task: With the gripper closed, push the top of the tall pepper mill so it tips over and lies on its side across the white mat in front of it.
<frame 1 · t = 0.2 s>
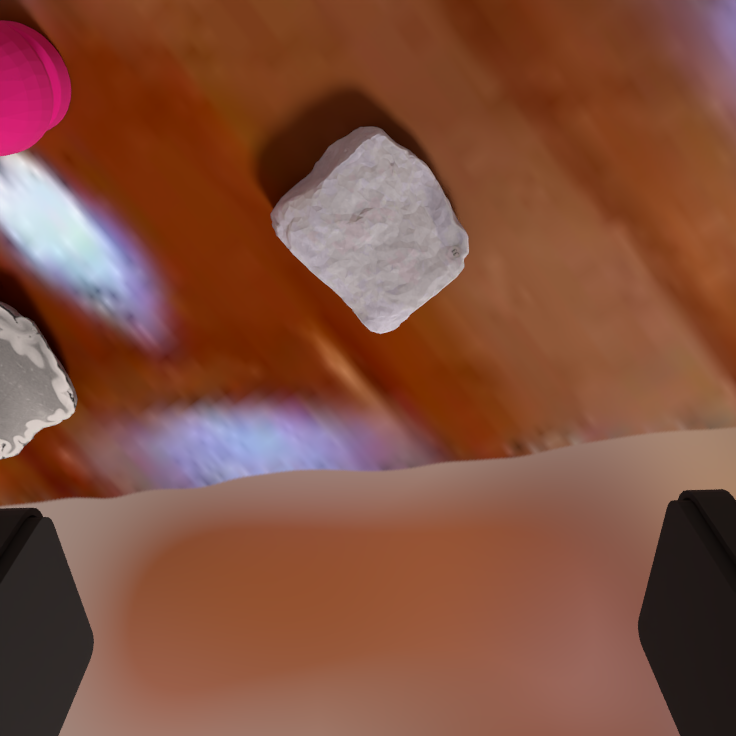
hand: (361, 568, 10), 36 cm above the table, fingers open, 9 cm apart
stone block: (379, 220, 44), on the table
pepper mill: (21, 78, 40), on the table
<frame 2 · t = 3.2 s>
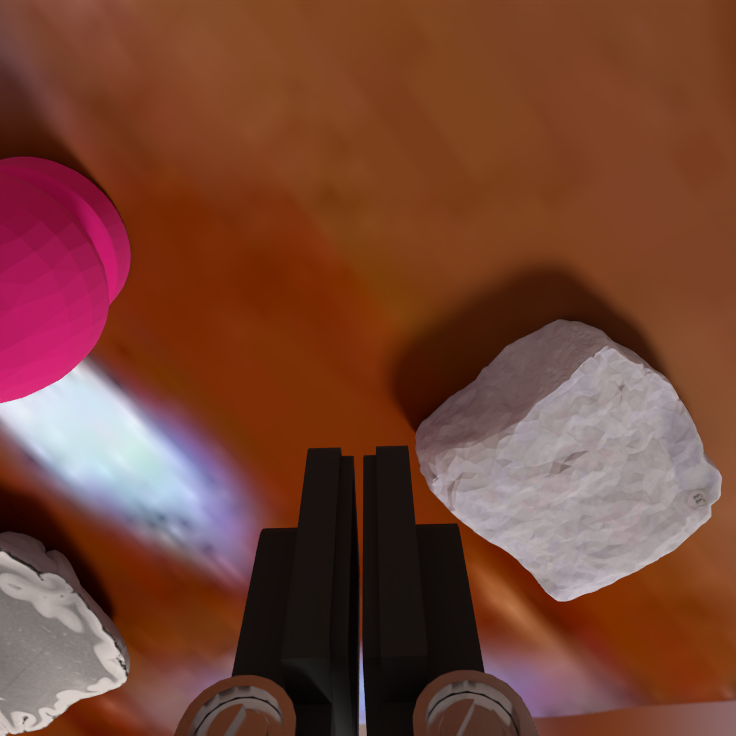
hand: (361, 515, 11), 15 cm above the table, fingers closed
stone block: (567, 436, 30), on the table
pepper mill: (50, 239, 25), on the table
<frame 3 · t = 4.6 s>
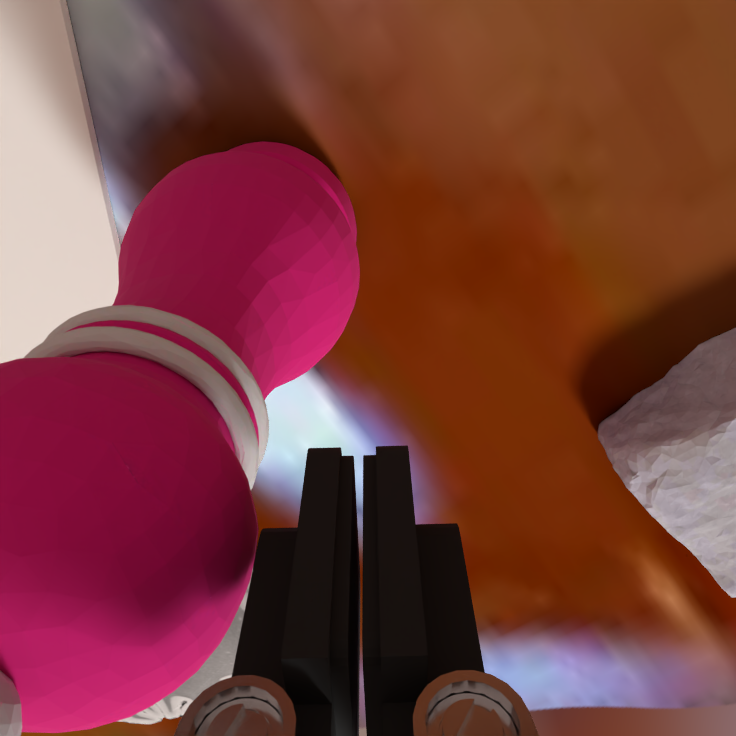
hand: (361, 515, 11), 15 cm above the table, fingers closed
brain slice: (102, 574, 34), on the table
pepper mill: (274, 225, 24), on the table
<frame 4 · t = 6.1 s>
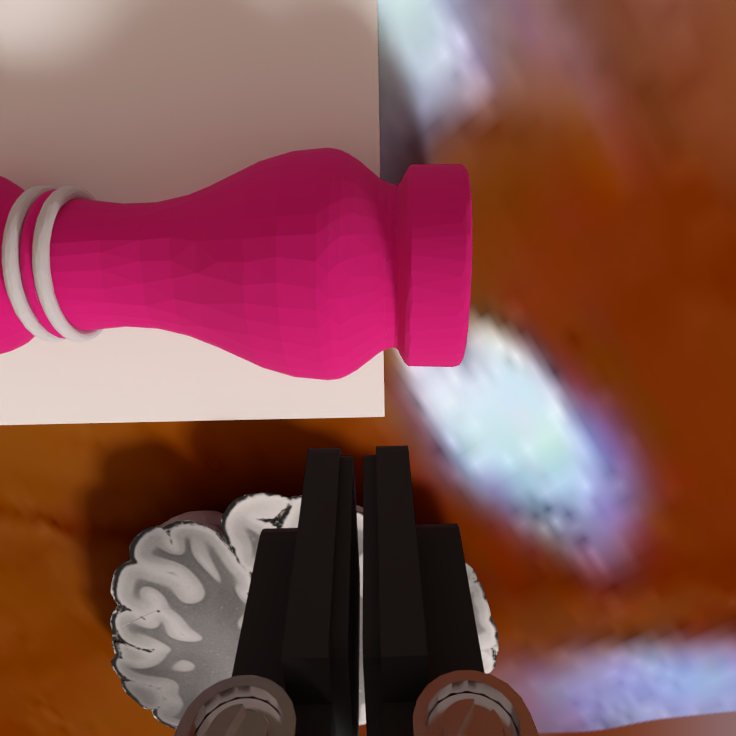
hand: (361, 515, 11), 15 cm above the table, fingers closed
brain slice: (292, 581, 34), on the table
pepper mill: (468, 267, 20), point 4 cm above the table, touching white mat
white mat: (116, 238, 24), on the table
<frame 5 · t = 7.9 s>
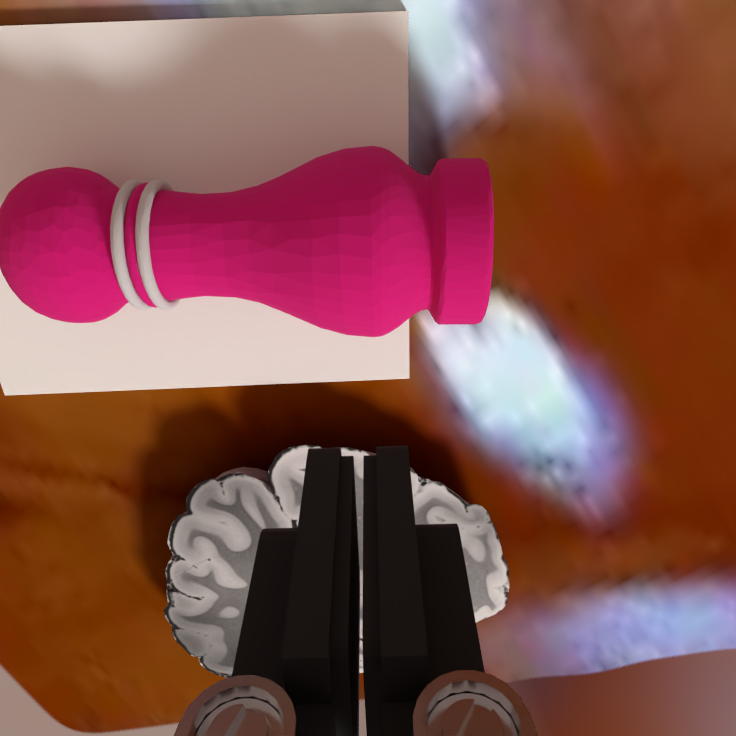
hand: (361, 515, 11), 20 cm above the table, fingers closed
brain slice: (323, 535, 38), on the table
pepper mill: (486, 242, 25), point 4 cm above the table, touching white mat
white mat: (182, 225, 29), on the table
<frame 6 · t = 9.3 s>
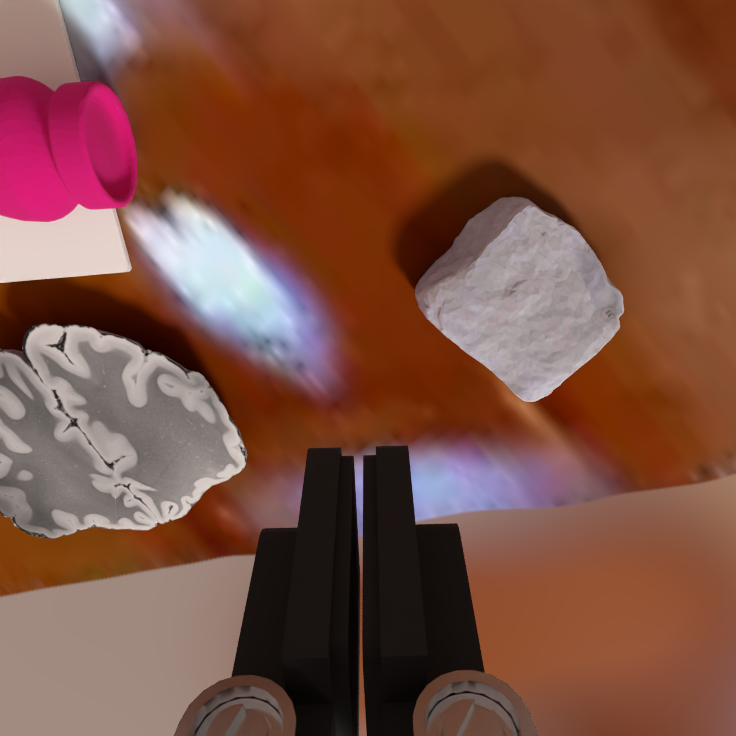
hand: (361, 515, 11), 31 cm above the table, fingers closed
brain slice: (105, 415, 47), on the table
stone block: (520, 286, 43), on the table
pepper mill: (117, 145, 34), point 4 cm above the table, touching white mat
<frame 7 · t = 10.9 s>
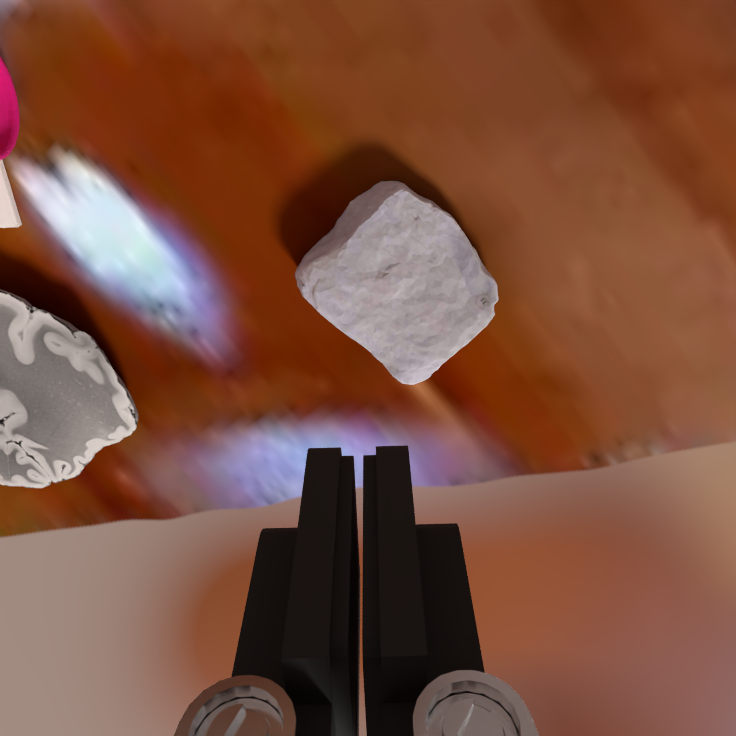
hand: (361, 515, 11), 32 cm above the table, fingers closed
brain slice: (0, 372, 47), on the table
stone block: (404, 271, 44), on the table
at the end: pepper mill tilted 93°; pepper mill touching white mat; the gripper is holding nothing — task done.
